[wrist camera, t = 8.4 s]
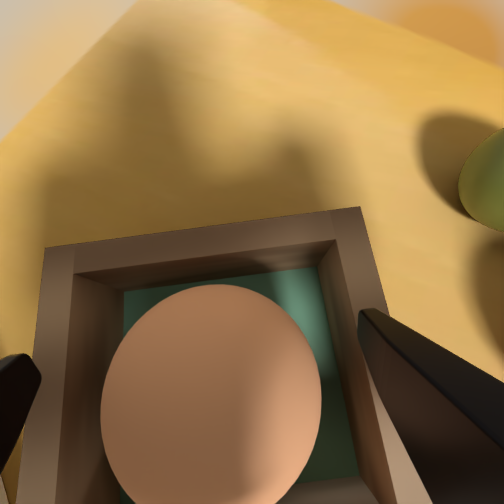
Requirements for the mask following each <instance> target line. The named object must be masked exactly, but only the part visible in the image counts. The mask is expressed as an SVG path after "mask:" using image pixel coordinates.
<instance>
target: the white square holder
mask: <svg viewBox="0 0 504 504" xmlns="http://www.w3.org/2000/svg"><path fill="white" fill-rule="evenodd" d="M0 504H9V502H8V499H7V496H6V492H5V489H4V485H3V482H2V478H1V475H0Z"/></svg>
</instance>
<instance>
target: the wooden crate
mask: <svg viewBox="0 0 504 504" xmlns="http://www.w3.org/2000/svg"><path fill="white" fill-rule="evenodd" d="M215 284H224V285H234V286H239V287H243V288H247V289H250V290H252V291H255V292H257V293H260V294H261V295H263V296H265V297H267V298H269V299H270V300H272V301H273V302H275V303H276V304H277V305H279V306H280V307H281V308H282V309H283V310H284V311H285V312H286V313H288V314H289V315H290V316H291V318H292V319H293V320H294V321H295V322H296V324H297V325H298V326H299V328H300V329H301V331H302V332H303V334H304V335H305V337H306V339H307V341H308V343H309V345H310V347H311V349H312V351H313V354H314V357H315V360H316V363H317V367H318V372H319V377H320V384H321V417H320V423H319V429H318V433H317V437H316V440H315V444H314V447H313V450H312V452H311V454H310V457H309V459H308V461H307V463H306V465H305V467H304V468H303V470H302V472H301V473H300V475H299V477H298V478H297V480H296V481H295V482H294V484H293V485H292V486H291V487H290V489H289V490H288V491H287V492H286V494H285V495H284V496H283V497H282V498H281V499H279V500H278V501H277V502H276V503H275V504H433V503H432V501H431V499H430V497H429V495H428V493H427V491H426V489H425V487H424V485H423V483H422V481H421V479H420V477H419V475H418V473H417V471H416V469H415V467H414V465H413V463H412V461H411V459H410V457H409V455H408V453H407V451H406V449H405V447H404V445H403V443H402V441H401V439H400V437H399V435H398V433H397V431H396V429H395V427H394V425H393V423H392V421H391V419H390V417H389V415H388V413H387V411H386V409H385V407H384V405H383V403H382V401H381V399H380V397H379V394H378V392H377V389H376V387H375V384H374V382H373V379H372V376H371V374H370V371H369V368H368V366H367V363H366V360H365V358H364V355H363V352H362V350H361V347H360V344H359V342H358V338H357V324H358V313H359V311H360V310H361V309H368V308H376V309H378V310H380V311H382V312H383V313H385V314H387V315H388V316H390V315H389V311H388V307H387V304H386V300H385V296H384V293H383V289H382V285H381V282H380V278H379V274H378V271H377V267H376V263H375V260H374V256H373V252H372V248H371V245H370V241H369V237H368V234H367V230H366V226H365V223H364V219H363V215H362V212H361V208H360V206H359V207H351V208H343V209H336V210H328V211H321V212H313V213H306V214H298V215H290V216H283V217H275V218H268V219H260V220H253V221H245V222H237V223H230V224H222V225H215V226H207V227H200V228H192V229H184V230H177V231H169V232H162V233H154V234H147V235H139V236H131V237H124V238H116V239H109V240H101V241H94V242H86V243H78V244H71V245H63V246H56V247H48V248H45V253H44V262H43V271H42V279H41V288H40V297H39V305H38V314H37V323H36V332H35V340H34V349H33V358H32V361H33V362H34V364H35V365H36V367H37V368H38V370H39V371H40V373H41V375H42V380H41V384H40V387H39V389H38V392H37V394H36V396H35V399H34V401H33V404H32V406H31V409H30V411H29V414H28V416H27V418H26V421H25V427H24V436H23V445H22V453H21V462H20V471H19V480H18V488H17V497H16V504H136V503H135V502H134V501H133V500H132V499H131V498H130V497H129V496H128V495H127V493H126V492H125V490H124V489H123V488H122V486H121V485H120V483H119V482H118V480H117V478H116V476H115V474H114V472H113V471H112V469H111V466H110V464H109V461H108V458H107V455H106V453H105V448H104V444H103V439H102V432H101V422H100V415H101V399H102V392H103V387H104V383H105V379H106V375H107V372H108V370H109V367H110V364H111V361H112V359H113V357H114V355H115V353H116V351H117V349H118V347H119V345H120V343H121V342H122V340H123V339H124V337H125V336H126V334H127V333H128V331H129V330H130V329H131V328H132V327H133V325H134V324H135V323H136V322H137V321H138V320H139V319H140V318H141V317H142V316H143V315H144V314H145V313H146V312H147V311H149V310H150V309H151V308H153V307H154V306H155V305H157V304H158V303H159V302H161V301H162V300H164V299H166V298H168V297H169V296H171V295H173V294H176V293H178V292H180V291H183V290H186V289H189V288H193V287H197V286H204V285H215Z"/></svg>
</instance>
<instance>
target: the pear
mask: <svg viewBox="0 0 504 504" xmlns="http://www.w3.org/2000/svg"><path fill="white" fill-rule="evenodd" d="M458 192H459V197H460V200H461V202H462V204H463V206H464V208H465V209H466V211H467V212H468V213H469V214H470V215H471V216H472V217H473V218H474V219H475V220H477V221H478V222H480V223H482V224H483V225H485V226H487V227H490V228H492V229H495V230H498V231H501V232H504V128H502V129H501V130H499V131H497V132H495V133H494V134H492V135H491V136H489V137H488V138H487V139H485V140H484V141H483V142H482V143H481V144H480V145H478V146H477V147H476V149H475V150H474V151H473V152H472V153H471V154H470V156H469V157H468V159H467V160H466V162H465V164H464V166H463V168H462V170H461V173H460V176H459V181H458Z"/></svg>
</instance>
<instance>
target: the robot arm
mask: <svg viewBox="0 0 504 504" xmlns="http://www.w3.org/2000/svg"><path fill="white" fill-rule="evenodd" d="M357 338H358V342H359V344H360V347H361V350H362V352H363V355H364V358H365V360H366V363H367V366H368V368H369V371H370V374H371V376H372V379H373V382H374V384H375V387H376V389H377V392H378V394H379V397H380V399H381V401H382V403H383V405H384V407H385V409H386V411H387V413H388V415H389V417H390V419H391V421H392V423H393V425H394V427H395V429H396V431H397V433H398V435H399V437H400V439H401V441H402V443H403V445H404V447H405V449H406V451H407V453H408V455H409V457H410V459H411V461H412V463H413V465H414V467H415V469H416V471H417V473H418V475H419V477H420V479H421V481H422V483H423V485H424V487H425V489H426V491H427V493H428V495H429V497H430V499H431V501H432V503H433V504H504V383H503V382H501V381H500V380H498V379H496V378H495V377H493V376H491V375H489V374H488V373H486V372H484V371H483V370H481V369H479V368H477V367H476V366H474V365H472V364H471V363H469V362H467V361H465V360H464V359H462V358H460V357H459V356H457V355H455V354H453V353H452V352H450V351H448V350H447V349H445V348H443V347H442V346H440V345H438V344H436V343H435V342H433V341H431V340H430V339H428V338H426V337H424V336H423V335H421V334H419V333H418V332H416V331H414V330H412V329H411V328H409V327H407V326H406V325H404V324H402V323H400V322H399V321H397V320H395V319H394V318H392V317H390V316H388V315H387V314H385V313H383V312H382V311H380V310H378V309H376V308H368V309H361V310H360V311H359V313H358V324H357ZM41 380H42V375H41V373H40V371H39V370H38V368H37V367H36V365H35V364H34V362H33V361H32V359H31V358H30V356H29V355H27V354H24V353H22V354H14V355H9V356H6V357H5V358H3V359H1V360H0V474H1V472H2V470H3V469H4V467H5V465H6V463H7V461H8V459H9V457H10V455H11V453H12V451H13V449H14V447H15V444H16V442H17V440H18V438H19V435H20V433H21V431H22V428H23V426H24V423H25V421H26V418H27V416H28V414H29V411H30V409H31V406H32V404H33V401H34V399H35V396H36V394H37V392H38V389H39V387H40V384H41Z"/></svg>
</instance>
